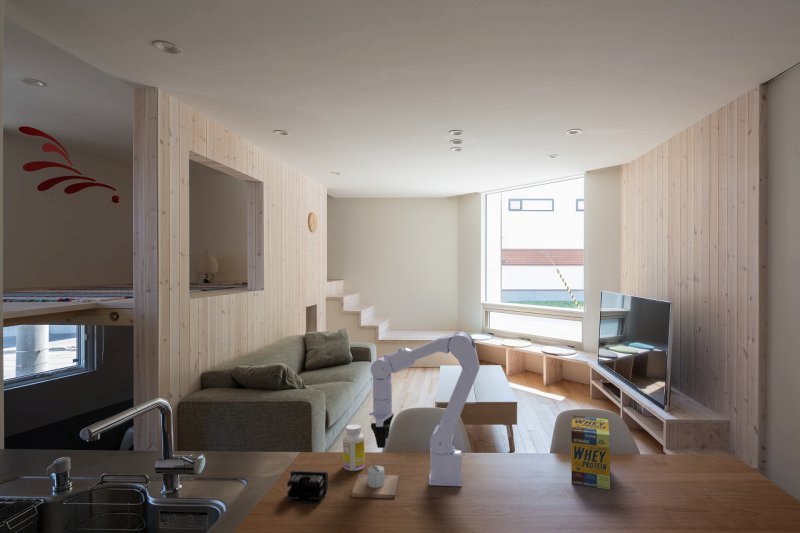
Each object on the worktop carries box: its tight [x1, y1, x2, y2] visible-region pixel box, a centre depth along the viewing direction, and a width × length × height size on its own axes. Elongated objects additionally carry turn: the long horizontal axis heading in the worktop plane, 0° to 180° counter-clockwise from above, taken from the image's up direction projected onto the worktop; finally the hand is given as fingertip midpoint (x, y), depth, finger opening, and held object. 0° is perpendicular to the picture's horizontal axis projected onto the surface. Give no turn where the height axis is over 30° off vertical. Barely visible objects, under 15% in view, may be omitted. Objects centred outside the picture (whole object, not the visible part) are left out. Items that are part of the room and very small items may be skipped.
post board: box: [350, 473, 400, 499], centre depth 137 cm, size 12×12×3 cm
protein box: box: [570, 415, 611, 490], centre depth 142 cm, size 10×15×16 cm
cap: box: [366, 464, 386, 488], centre depth 137 cm, size 5×5×5 cm
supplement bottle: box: [342, 424, 366, 472], centre depth 150 cm, size 7×7×13 cm
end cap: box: [286, 470, 329, 505], centre depth 131 cm, size 10×7×7 cm
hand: (382, 442), depth 144 cm, fingers open, 7 cm apart
